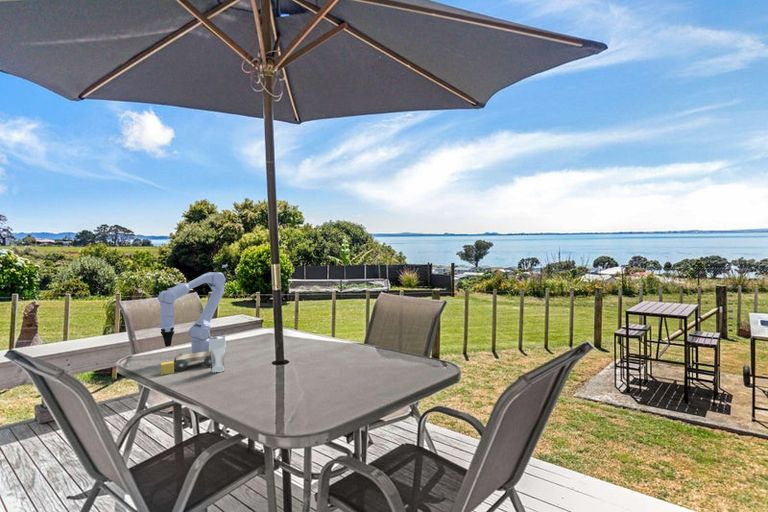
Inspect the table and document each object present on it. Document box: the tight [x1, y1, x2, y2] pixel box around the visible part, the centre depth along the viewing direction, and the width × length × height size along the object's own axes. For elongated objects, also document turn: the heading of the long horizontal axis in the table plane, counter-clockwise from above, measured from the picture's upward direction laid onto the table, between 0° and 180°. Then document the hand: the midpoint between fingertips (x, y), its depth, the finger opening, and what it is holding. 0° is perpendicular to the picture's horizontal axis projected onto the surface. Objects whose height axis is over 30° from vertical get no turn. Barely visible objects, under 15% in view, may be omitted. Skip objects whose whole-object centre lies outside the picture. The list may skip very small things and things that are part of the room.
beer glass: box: [208, 335, 227, 374], centre depth 173 cm, size 7×7×15 cm
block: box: [160, 360, 175, 376], centre depth 172 cm, size 5×4×4 cm
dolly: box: [173, 351, 211, 372], centre depth 182 cm, size 17×12×10 cm
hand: (167, 344), depth 186 cm, fingers open, 7 cm apart
